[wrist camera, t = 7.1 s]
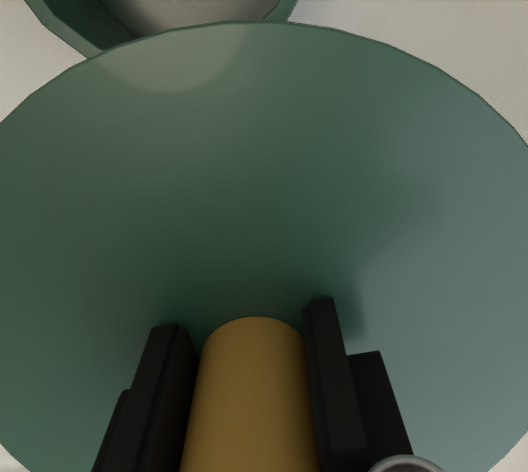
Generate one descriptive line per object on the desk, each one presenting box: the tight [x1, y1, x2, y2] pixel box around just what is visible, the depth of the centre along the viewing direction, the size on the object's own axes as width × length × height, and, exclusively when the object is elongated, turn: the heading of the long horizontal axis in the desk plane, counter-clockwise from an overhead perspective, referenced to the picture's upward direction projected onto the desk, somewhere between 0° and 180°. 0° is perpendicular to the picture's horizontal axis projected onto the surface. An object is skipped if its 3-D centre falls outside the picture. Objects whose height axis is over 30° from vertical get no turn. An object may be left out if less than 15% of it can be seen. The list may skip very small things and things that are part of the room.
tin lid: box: [0, 20, 528, 472], centre depth 9 cm, size 14×14×6 cm
